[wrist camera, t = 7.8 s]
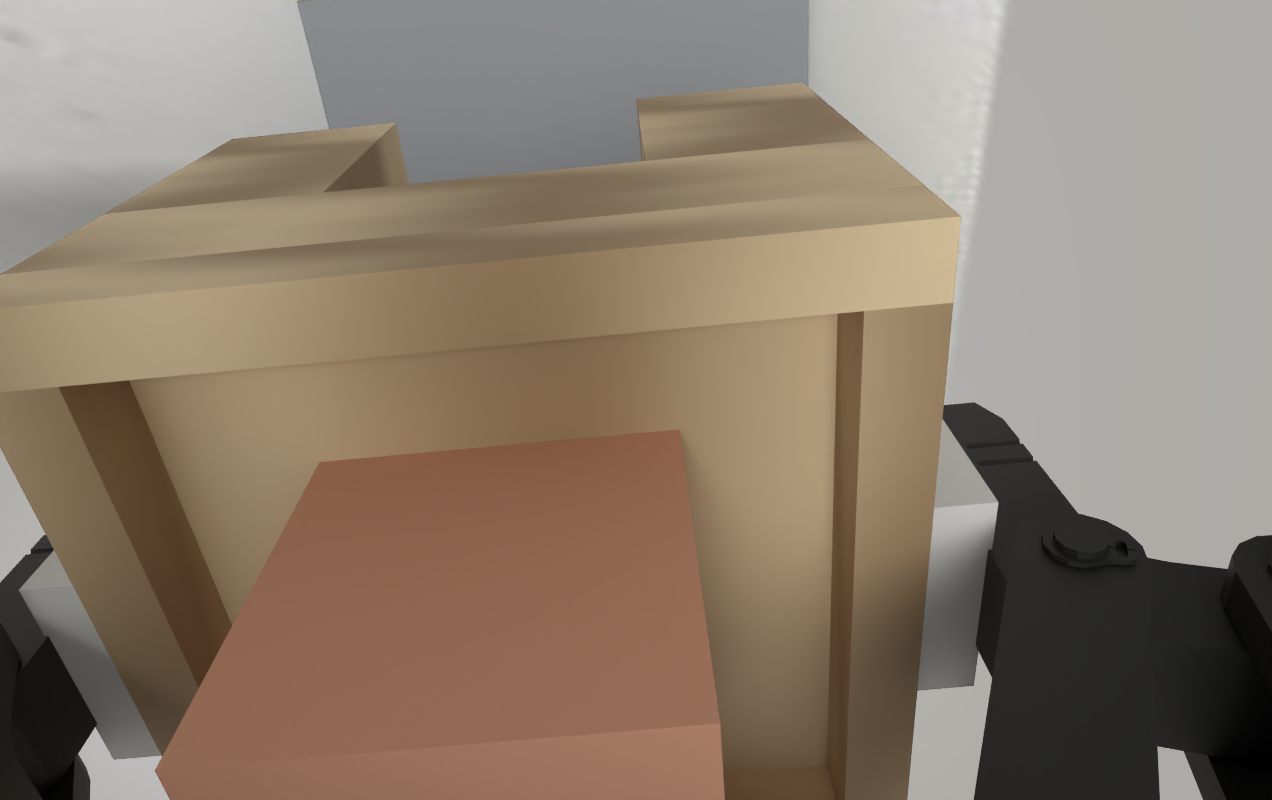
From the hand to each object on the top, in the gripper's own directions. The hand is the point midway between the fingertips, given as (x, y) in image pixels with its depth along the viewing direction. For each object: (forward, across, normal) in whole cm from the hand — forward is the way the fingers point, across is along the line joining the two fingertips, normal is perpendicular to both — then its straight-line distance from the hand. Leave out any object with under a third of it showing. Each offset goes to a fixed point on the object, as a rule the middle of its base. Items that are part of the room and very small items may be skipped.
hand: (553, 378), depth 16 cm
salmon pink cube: (-6, 0, 0) cm, 6 cm away
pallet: (0, 0, 0) cm, 0 cm away
